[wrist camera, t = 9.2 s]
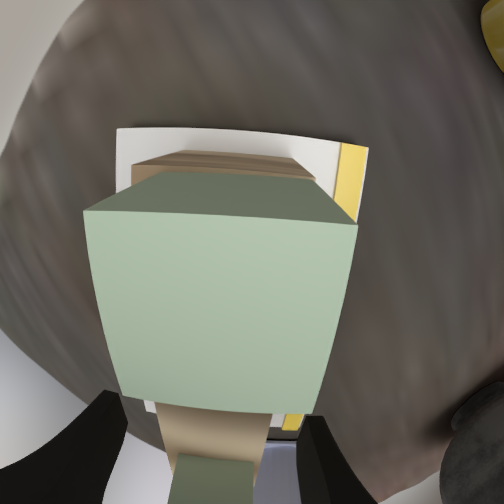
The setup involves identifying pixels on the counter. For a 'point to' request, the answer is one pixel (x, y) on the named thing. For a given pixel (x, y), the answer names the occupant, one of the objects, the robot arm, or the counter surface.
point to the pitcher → (476, 451)
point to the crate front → (221, 288)
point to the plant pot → (494, 29)
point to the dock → (260, 143)
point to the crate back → (211, 481)
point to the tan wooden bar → (206, 420)
